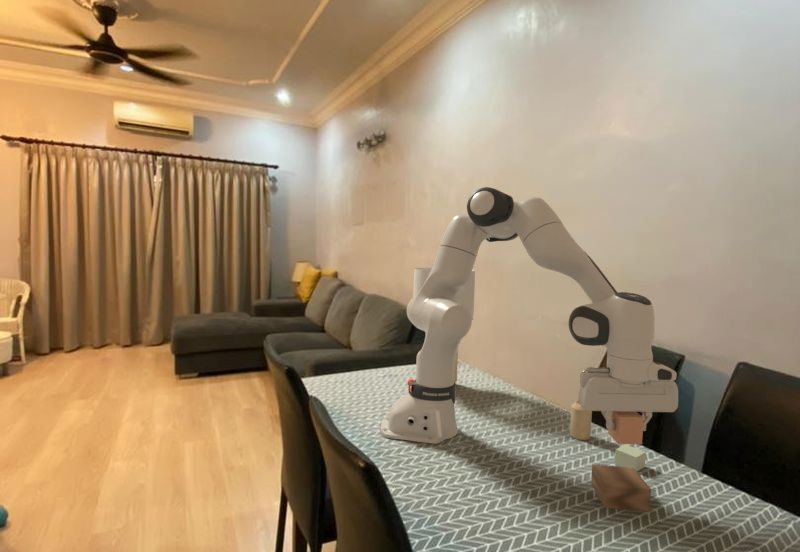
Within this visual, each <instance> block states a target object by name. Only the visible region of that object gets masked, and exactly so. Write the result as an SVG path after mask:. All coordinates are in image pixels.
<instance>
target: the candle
mask: <svg viewBox="0 0 800 552" xmlns="http://www.w3.org/2000/svg"><path fill="white" fill-rule="evenodd" d="M592 414H593V411H587V410H585V409H584V408H583V407H582V406H581V405H580V404H579V401H578V400H577V401H575V402H574V403H572V404H571V405H570V422H569V423H570V424H569V436H570V437H572V438H573V439H576V440H579V441H588V440H590V439H591V433H592V432H591V431H592V419H593V418H592Z"/></svg>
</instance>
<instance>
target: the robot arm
mask: <svg viewBox="0 0 800 552" xmlns="http://www.w3.org/2000/svg"><path fill="white" fill-rule="evenodd" d="M466 211H467V213H460V214H456V215H454V216H453V217H452V219H451V220H450V222H449V223H448V225H447V227H446V229H445V231H444V234H443V236H442V238H441V241H440V243H439V247H438V249H437V253H436V256H435V259H434V262H433V264H432V267H431V268H432V269H431V272H430V274H429V276H428V278H427V279H426V281H425V283H424V284H423V286H422V288H421V289H420V291H419V292H418V294H417V295H416V296H415V297H412V298H411V299H410V300H409V302H408V304H407V306H406V315H407V319H408V320H409V322H411V324H412V325H413V326H414V327H415V328H416V329H419V330H420V331H422V332H425V333H424V334H425V337H424V340H423V341H424V342H423V344H422V348H421V349H420V350H419V351H418V353H417V354H416V366H415V367H416V368H415V370H416V371H415V379H413V378H411V377H410V378H408V380H407V386H408V393H406V394H405V395H403V396H402V397H401V398H399V399H398V400H396V401H395V402H394V403H392V406H391V407H390V410H389V412H388V416H385V417H384V418H383V419H382V421H381V423H380V430H379V431H380V434H381V435H382V436H383V437H384V438H386V439H387V438H389V439H395V440H402V441H403V440H404V441H410V442H417V443H418V442H419V443H426V444H433V445H437V444H439V443H441V442H442V441H446V440H448V439H451V438H454V437H455V436H456V435H458V433H459V428H458V424H457V419H456V412H455V411H456V409H455V402H456V397H457V394H456V393H457V387H456V382H454V374H455V359H456V353H457V350H458V351H459V346H460V343H461V342H462V339H463V338H464V337H466V336H467V335H468V333H469V332H470V329H471V327H472V322H473V320H472V318H471V314H470V312H469V311H468V309H467V308H465V307H464V306H463V305H461V304H460V303H458V302H457V301H454V300H453V299H454V298H455V296H456V294H457V293H458V292H459V290H460V289H461V288H462V287H464V286H465V285H466V284H467V283H468V281H469V278H470V275H471V272H472V270H474V269H473V268H474V266H475V262H476V259H477V256H478V252H479V249H480V247H481V244H483V242H484V241H485V240H486V241H487V242H489V243H492V242H493V243H494V242H508V241H513V240H515V239H516V238H519V239H520V241H521V243H522V245H523V247H524V249H525V251H526V253H527V254H528V256H529V257H530V259H532V261H533V262H534V263H535V264H536V265H537V266H539V267H541V268H542V269H545V270H550V271H553V272H556V273H559V274H563V275H565V276H567V277H569V278H571V279H573V280H574V281H575V282H576V283H577V284H578V286H580V287H581V289H582V291H584V294H586V296H587V297H588V298H589V300H590V301H591V303H587V304H583V305H580V306H578V307H575V308H574V309H572V311H571V313H570V315H569V318H568V330H569V332H570V334H571V336H572V338H573V339H574V340H575V342H577V343H578V344H580V345H582V346H583V345H584V346H589V347H594V346H595V347H597V346H602V347H605V348H606V367H587V368H586V369H584V370H583V371H581V372H580V373H579V374H580V377H579V384H580V387H579V392H578V399H577V401H579V404H580V405H581V406H582V407H583V408H584V409H585V410H587V411H592V412H601V414H602V416H603V417H604V419H605V428H606V429H607V430H616V422H614V421H613V420H611V418H610V417H609V415H610V416H612V411H631V412H637V413H638V412H640V414H642V415H641V416H642V417H644V420H643V432H645V431H647V424H648V423H649V422H650V420H651V418H652V417H653V413H674V412H675V411H676V410H677V409H678V407H679V387H678V385H677V383H676V382H675V381H676V379H677V378H678V377H677V375H678V374H677V372H676V371H675V370H674V369H672V368H670V367H669V366H666V365H664V364H662V363H659V362H656V361H654V359H653V358H654V354H653V351H652V344H653V341H654V338H655V327H656V326H655V324H656V323H655V310H654V306H653V303H652V302H651V300H650V299H648V297H646V296H644V295H641V294H637V293H632V292H626V291H620V292H618V291H617V290H616V288H614V286H613V285H612V284H611V282H610V280H609V279H608V278H607V276H606V275H604V273H603V271H602V270H601V268H600V267H599V265H597V264H596V262H595V261H594V260H593V259H592V258H591V257H590V256H589V255H588V253H587V252H586V251H585V250H584V249H583V248H582V247H581V246H580V245H579V244H578V243H577V241H576V240H575V239H574V238H573V236H572V235H571V234H570V232H569V231H568V230H567V228H566V227H565V225H564V224H563V222H562V220H561V218H560V217H559V216H558V215H557V213H556V212H555V211H554V209H553V208H552V207H551V206H550V205H549V204H548V203H547V202H546V201H545V200H544V199H542V198H540V197H536V196H532V197H531V196H530V197H528V198H524V199H523V200H521V201H519V202H516V201H514V198H513V196H511V195H510V194H507V193H505V192H502V191H501V190H499V189H497V188H493V187H488V186H485V187H480V188H478V189H476V190H474V191H473V193H472V194H471V195H470V196H469V198H468V201H467V203H466Z"/></svg>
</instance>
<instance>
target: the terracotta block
mask: <svg viewBox="0 0 800 552" xmlns="http://www.w3.org/2000/svg"><path fill="white" fill-rule="evenodd" d="M609 417H610V418H611V420H613V421H614V422H616V430H608V429H607V430H608V432H607V433H608V435H609V436H610V437H611V438H612V439H613V440H614V441H615V442H616V443H617V444H618V445H625V444H626V445H643V433H644V431H643V420H644V417H642V415H641V413H638V412H631V411H612V416H610V415H609Z"/></svg>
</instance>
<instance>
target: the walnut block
mask: <svg viewBox="0 0 800 552" xmlns="http://www.w3.org/2000/svg"><path fill="white" fill-rule="evenodd" d="M590 478H591V480H590V485H591V487H592V489H593V491H594V492H595V494H596V495H597V498H598V499H599V501H600V503H601V504H602V506H603V508H608V509H616V510H617V509H619V510H629V511H638V512H639V511H640V512H641V511H642V512H650V511H651V498H652V497H651V495H652V489H651V487H650V486H649V485H648V484H647V482H646V481H645V480H644V479H643V477H642V476H641V475H640V474H639V471H636V470H635V469H634V468H632V467H620V466H618V465H605V464H591V477H590Z"/></svg>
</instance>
